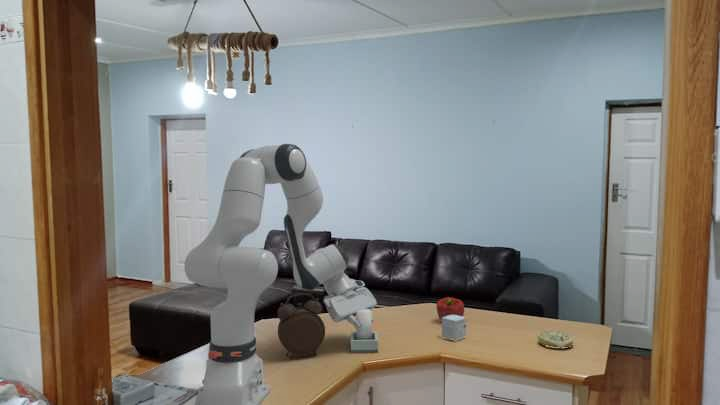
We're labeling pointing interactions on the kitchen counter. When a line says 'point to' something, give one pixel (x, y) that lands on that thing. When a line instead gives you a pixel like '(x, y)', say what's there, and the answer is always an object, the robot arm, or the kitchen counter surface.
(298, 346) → the alarm clock
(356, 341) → the teal open box
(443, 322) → the skincare box
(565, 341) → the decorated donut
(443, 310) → the vegetable
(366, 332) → the cylinder
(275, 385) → the kitchen counter surface
